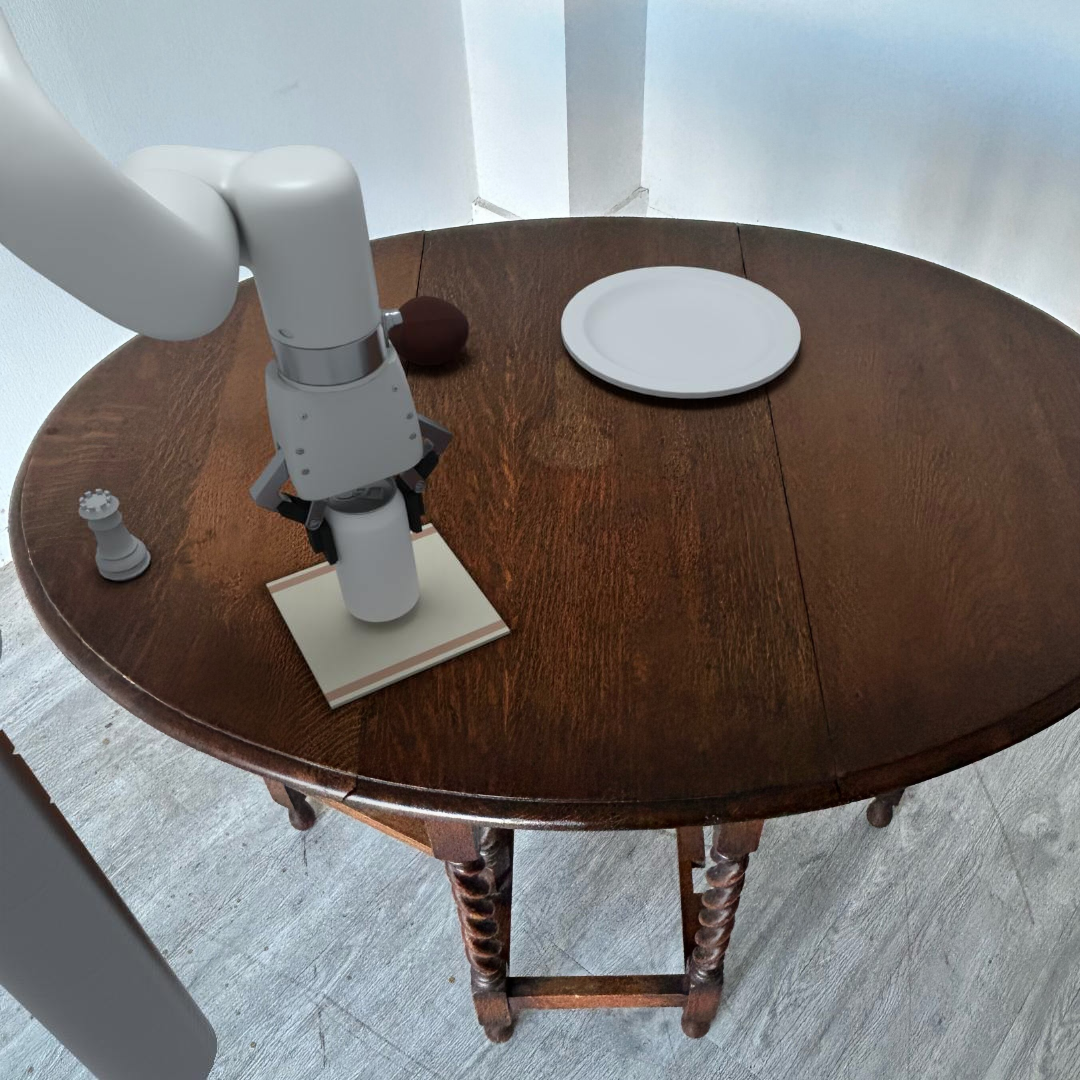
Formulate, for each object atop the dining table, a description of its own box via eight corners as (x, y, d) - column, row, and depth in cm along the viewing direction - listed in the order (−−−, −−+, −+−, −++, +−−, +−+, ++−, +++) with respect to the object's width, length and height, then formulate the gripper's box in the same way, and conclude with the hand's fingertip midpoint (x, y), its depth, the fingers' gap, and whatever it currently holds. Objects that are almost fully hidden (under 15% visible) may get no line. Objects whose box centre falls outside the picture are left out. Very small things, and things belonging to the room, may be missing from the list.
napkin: (332, 709, 78) (330, 706, 78) (266, 586, 88) (265, 583, 87) (510, 633, 84) (510, 629, 84) (431, 525, 94) (430, 522, 93)
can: (349, 572, 87) (324, 464, 78) (423, 570, 87) (406, 463, 79) (339, 626, 83) (310, 518, 74) (417, 624, 83) (397, 517, 74)
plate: (767, 278, 128) (769, 261, 126) (826, 403, 109) (829, 385, 107) (551, 288, 125) (551, 270, 124) (573, 417, 106) (573, 399, 104)
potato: (477, 374, 112) (472, 312, 106) (395, 385, 110) (384, 323, 104) (466, 337, 117) (460, 276, 111) (387, 347, 115) (377, 286, 110)
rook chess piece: (160, 569, 89) (130, 501, 83) (110, 590, 87) (77, 522, 81) (141, 542, 91) (111, 474, 86) (92, 563, 89) (59, 495, 84)
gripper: (423, 288, 72) (447, 479, 85) (185, 352, 66) (250, 548, 79) (469, 335, 68) (487, 529, 81) (219, 409, 62) (281, 607, 75)
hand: (369, 537), depth 80 cm, fingers closed on can, 6 cm apart
